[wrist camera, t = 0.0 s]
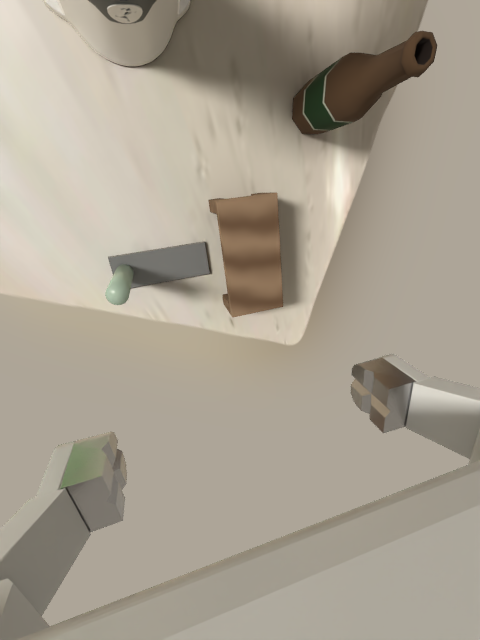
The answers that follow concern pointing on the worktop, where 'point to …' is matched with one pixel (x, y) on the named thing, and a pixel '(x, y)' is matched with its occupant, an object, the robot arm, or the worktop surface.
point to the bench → (250, 252)
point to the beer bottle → (359, 84)
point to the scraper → (154, 268)
